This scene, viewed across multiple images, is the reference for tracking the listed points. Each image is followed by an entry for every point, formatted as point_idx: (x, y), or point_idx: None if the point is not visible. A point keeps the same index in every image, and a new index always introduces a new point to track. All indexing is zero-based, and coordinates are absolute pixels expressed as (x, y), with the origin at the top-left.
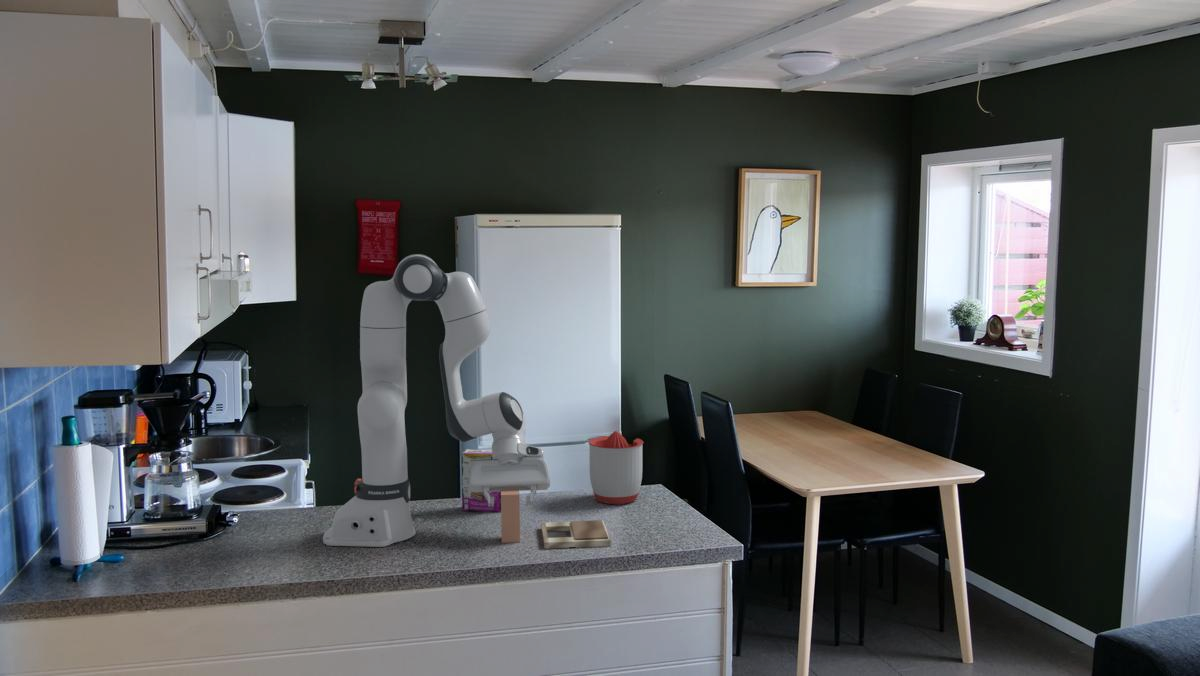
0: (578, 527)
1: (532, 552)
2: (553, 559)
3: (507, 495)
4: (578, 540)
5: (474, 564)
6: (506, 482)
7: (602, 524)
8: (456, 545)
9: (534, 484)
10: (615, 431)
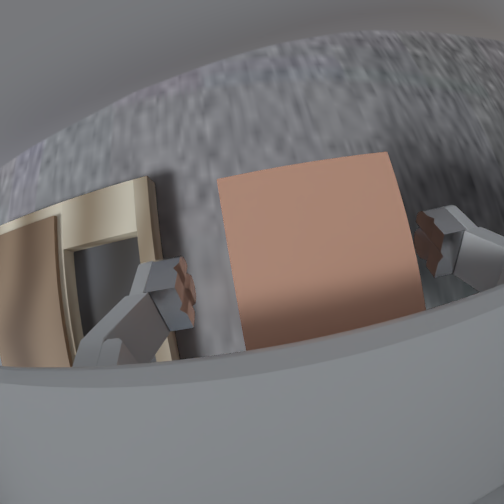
0: (49, 339)
1: (192, 145)
2: (131, 103)
3: (330, 162)
4: (49, 214)
5: (349, 52)
6: (407, 334)
7: (3, 363)
8: (460, 201)
9: (73, 367)
10: None
